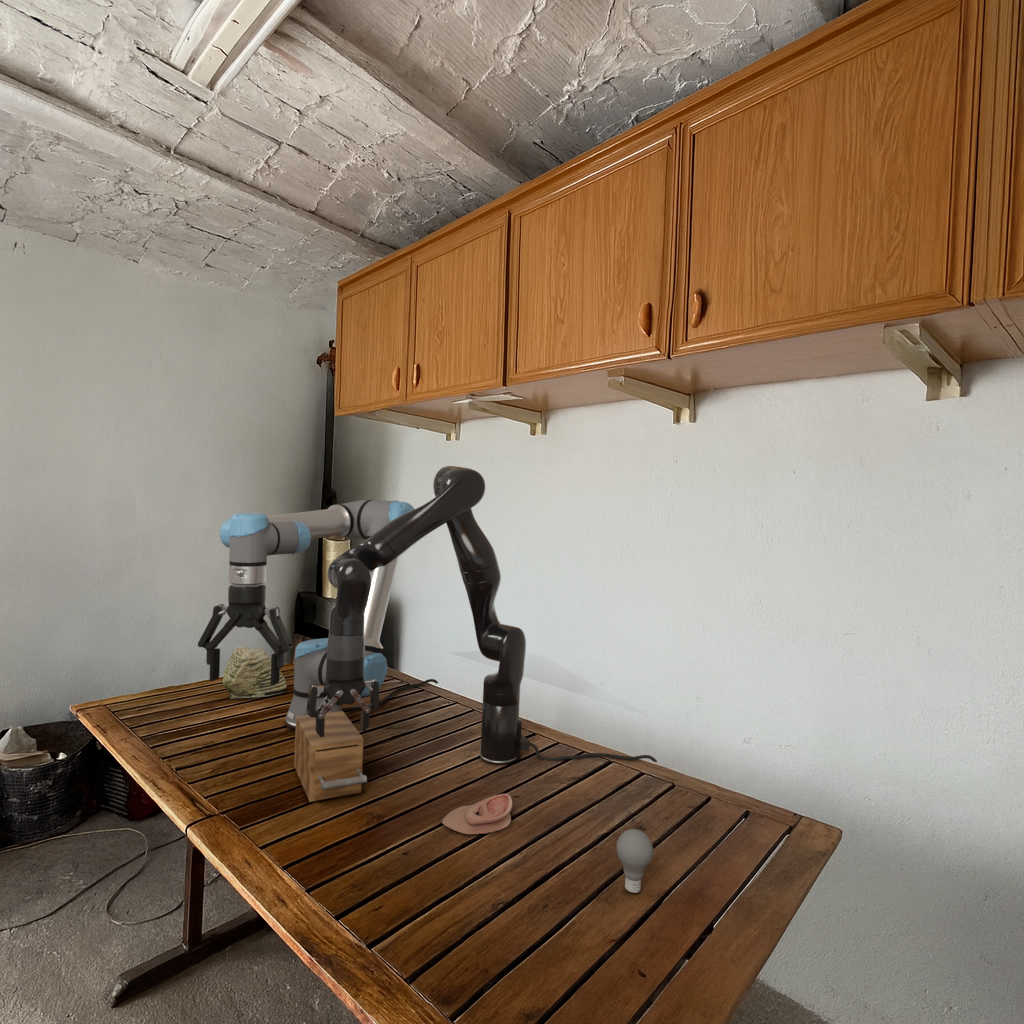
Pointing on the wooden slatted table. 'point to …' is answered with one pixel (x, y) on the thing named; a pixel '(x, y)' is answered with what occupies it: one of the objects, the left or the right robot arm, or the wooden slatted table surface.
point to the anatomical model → (481, 816)
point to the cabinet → (321, 744)
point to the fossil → (251, 674)
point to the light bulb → (634, 857)
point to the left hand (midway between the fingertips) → (244, 681)
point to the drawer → (338, 772)
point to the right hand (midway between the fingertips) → (342, 733)
